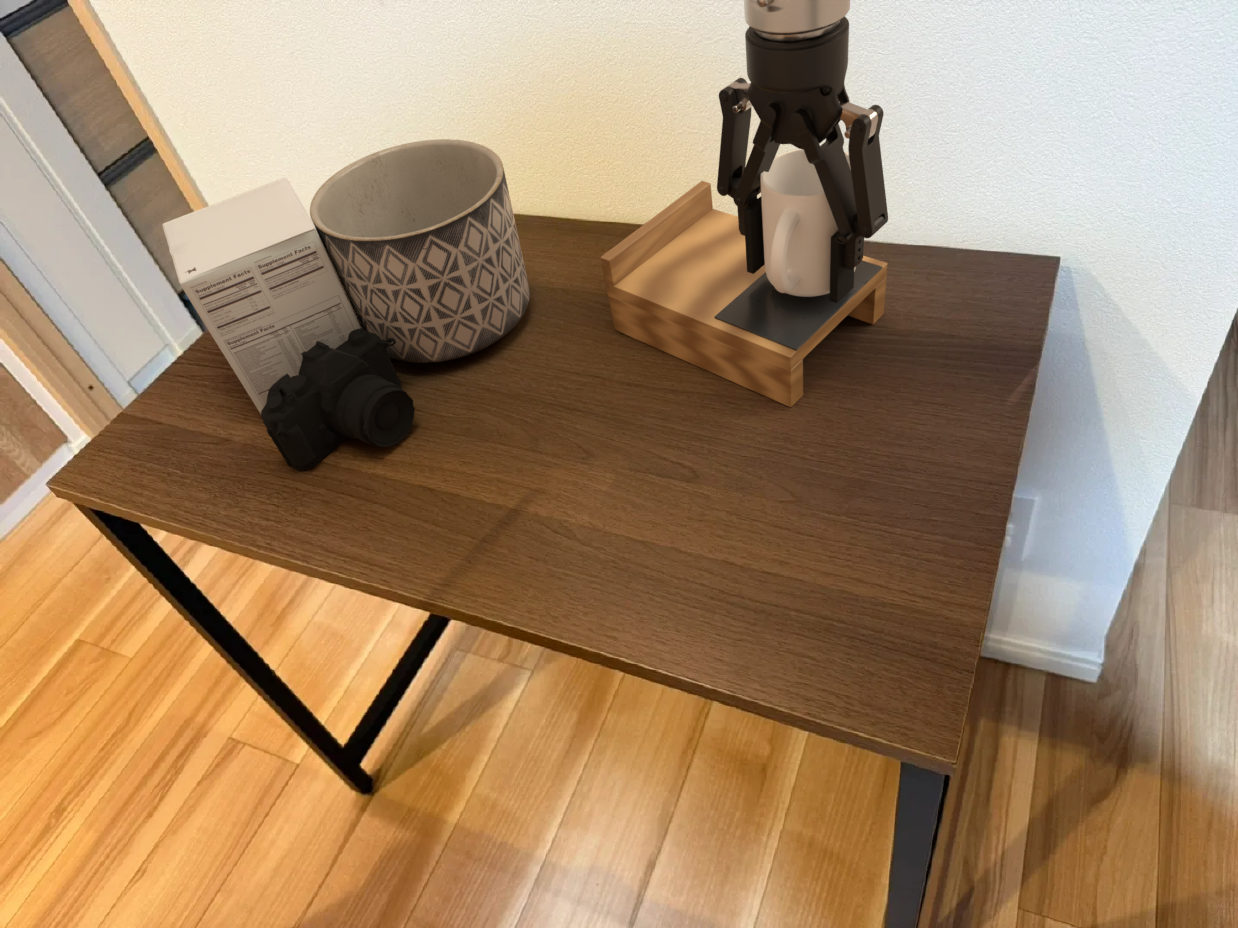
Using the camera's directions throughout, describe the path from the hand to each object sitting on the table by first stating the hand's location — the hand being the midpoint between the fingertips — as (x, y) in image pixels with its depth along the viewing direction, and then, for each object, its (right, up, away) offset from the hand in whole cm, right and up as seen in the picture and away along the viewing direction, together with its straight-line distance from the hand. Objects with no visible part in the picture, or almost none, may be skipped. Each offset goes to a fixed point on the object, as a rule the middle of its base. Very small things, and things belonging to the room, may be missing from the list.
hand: (798, 279), depth 80 cm
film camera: (-42, -14, +7) cm, 44 cm away
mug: (0, -1, 0) cm, 1 cm away
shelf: (-4, -2, +9) cm, 10 cm away
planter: (-35, -1, +17) cm, 39 cm away
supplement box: (-50, -6, +16) cm, 53 cm away
